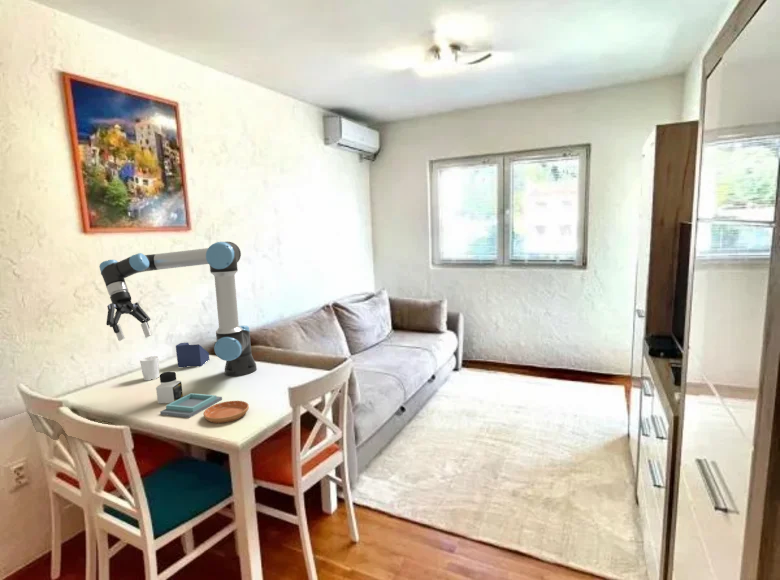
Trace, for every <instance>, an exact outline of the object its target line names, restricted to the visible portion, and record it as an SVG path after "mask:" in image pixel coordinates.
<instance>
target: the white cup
mask: <svg viewBox="0 0 780 580" xmlns="http://www.w3.org/2000/svg"><path fill="white" fill-rule="evenodd" d="M139 363H140V369H141V373H142V376H143V380H144V381H152V380H151V379H154V380H156V379H155V378H157V379H159V378H160V362H159V356H155V355H154V356H147V357H143V358H140V359H139ZM158 377H159V378H158Z"/></svg>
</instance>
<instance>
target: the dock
mask: <svg viewBox="0 0 780 580" xmlns="http://www.w3.org/2000/svg"><path fill="white" fill-rule="evenodd" d="M222 400H223V396H217V395H215V394H214V395H213V394H203V393H193V392H192V393H188V394H186V395H183V397H182V398H180V399H178V400H176V401H174V402H172V403H167V404H166V405H165V408H164V409H163V410H160V411H159V413H160V415H161V416H162V415H163V416H170V417H171V416H172V417H180V418H181V417H182V418H192V417H194V416H195V415H197V414H199V413H200V412H202V411H203V412H204V411H205V410H206V409H207V408H209V407H211V406H213V405H216V404H218V402H219V403H220V402H221V401H222Z"/></svg>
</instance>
